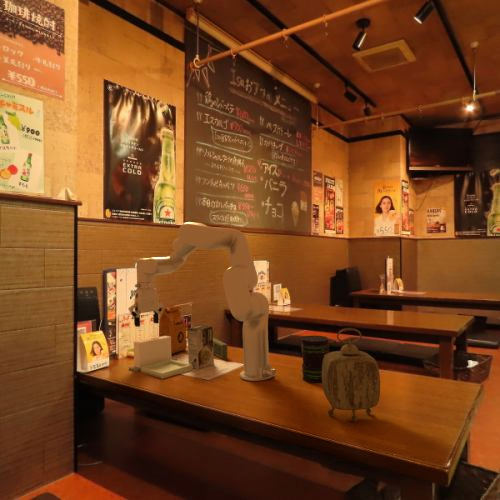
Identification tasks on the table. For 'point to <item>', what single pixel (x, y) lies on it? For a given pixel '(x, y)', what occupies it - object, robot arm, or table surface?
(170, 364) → the tray
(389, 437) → the table surface
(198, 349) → the coffee box
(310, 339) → the storage jar
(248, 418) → the table surface
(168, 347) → the panel unit
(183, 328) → the coffee package
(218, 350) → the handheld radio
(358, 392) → the tabletop clock
